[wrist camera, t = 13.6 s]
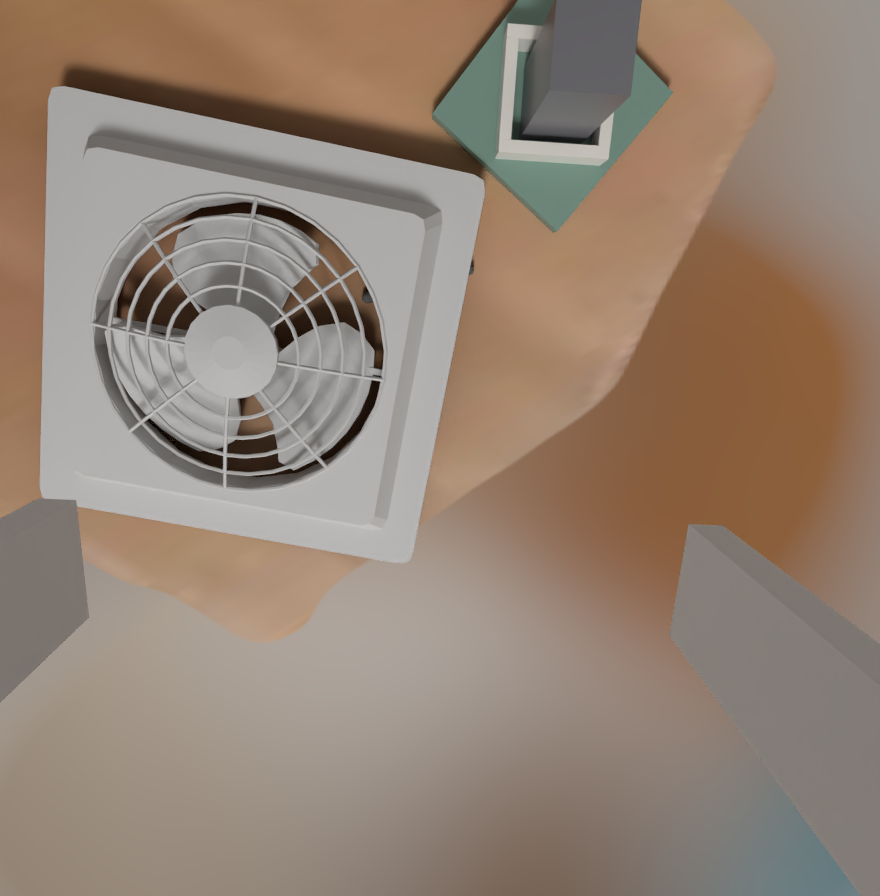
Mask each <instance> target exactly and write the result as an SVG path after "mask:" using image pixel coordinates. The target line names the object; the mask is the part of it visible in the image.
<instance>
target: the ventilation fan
mask: <svg viewBox="0 0 880 896" xmlns="http://www.w3.org/2000/svg"><path fill="white" fill-rule="evenodd" d="M484 195H485V189H484V180H482V179H481V178H479V177H477V176H476V175H474V174H470V173H466V172H461V171H456V170H452V169H447V168H442V167H438V166H433V165H429V164H424V163H419V162H415V161H410V160H405V159H401V158H396V157H391V156H387V155H382V154H377V153H373V152H368V151H364V150H359V149H354V148H350V147H345V146H340V145H336V144H331V143H326V142H322V141H317V140H312V139H308V138H303V137H299V136H294V135H289V134H285V133H280V132H275V131H271V130H266V129H261V128H257V127H252V126H247V125H243V124H238V123H233V122H229V121H224V120H220V119H215V118H210V117H206V116H201V115H196V114H192V113H187V112H182V111H178V110H173V109H168V108H164V107H159V106H155V105H150V104H145V103H141V102H136V101H131V100H127V99H122V98H117V97H113V96H108V95H103V94H99V93H94V92H90V91H85V90H80V89H76V88H71V87H66V86H61V87H54V88H52V90H51V93H50V96H49V99H48V132H47V178H46V224H45V270H44V316H43V362H42V408H41V453H40V490H41V493H42V496H43V498H45V499H64V500H76V503H77V506H78V507H84V508H89V509H95V510H100V511H106V512H112V513H117V514H123V515H129V516H134V517H140V518H145V519H151V520H157V521H162V522H168V523H174V524H179V525H185V526H190V527H196V528H202V529H207V530H213V531H218V532H224V533H230V534H235V535H241V536H247V537H252V538H258V539H263V540H269V541H275V542H280V543H286V544H292V545H297V546H303V547H308V548H314V549H320V550H325V551H331V552H337V553H342V554H348V555H353V556H359V557H365V558H370V559H376V560H382V561H387V562H393V563H406V562H408V561H409V559H410V558H411V556H412V553H413V549H414V544H415V539H416V534H417V529H418V524H419V519H420V514H421V509H422V504H423V499H424V494H425V489H426V484H427V479H428V474H429V469H430V464H431V460H432V455H433V450H434V445H435V440H436V435H437V430H438V425H439V420H440V415H441V410H442V405H443V400H444V395H445V390H446V385H447V380H448V375H449V370H450V365H451V360H452V355H453V350H454V345H455V340H456V335H457V330H458V325H459V320H460V315H461V310H462V305H463V300H464V295H465V290H466V285H467V280H468V275H469V270H470V265H471V260H472V255H473V250H474V245H475V240H476V235H477V230H478V225H479V220H480V215H481V210H482V205H483V200H484ZM242 202H248V203H253V205H252V210H251V214H243V213H233V214H223V215H214V216H205V217H198V218H195V219H192V220H189V221H186V222H183V223H180V224H177V225H174V226H172V227H171V228H169V229H167V230H166V231H164V232H162V233H161V234H159V235H158V236H156V234H157V233H158V232H159V231H160V230H161V229H162V228H163V227H165V226H167V225H169V224H171V223H173V222H175V221H177V220H179V219H180V218H182V217H184V216H186V215H188V214H190V213H192V212H194V211H196V210H198V209H200V208H203V207H211V206H219V205H226V204H234V203H242ZM257 205H262V206H267V207H272V208H277V209H281V210H286V211H290V212H292V213H294V214H296V215H297V216H299V217H301V218H303V219H304V220H306V221H308V222H310V223H311V224H313V225H315V226H316V227H317V228H318V229H319V230H321V231H322V232H323V233H324V234H325V235H327V236H328V237H329V238H330V239H331V240H333V241H334V242H335V244H336V245H337V246H338V247H339V248H340V249H341V250H342V251H343V252H344V253H345V255H346V256H347V257H348V258H349V259H350V261H351V262H352V263H353V264H354V267H353V268H351V269H350V270H348V271H347V272H345V273H344V274H342V275H341V276H340V275H339V273H338V272H337V271H336V270H335V269H334V267H333V266H332V265H331V264H330V263H329V261H328V260H327V259H326V258H325V257H324V256H323V255H322V254H321V253H320V252H319V244H318V243H317V242H315V241H314V240H313V239H311V238H310V237H309V236H307V235H306V234H305V233H304V232H302V231H301V230H299V229H297V228H295V227H293V226H291V225H289V224H287V223H285V222H283V221H281V220H278V219H275V218H271V217H267V216H264V215H260V214H255V213H256V209H257ZM192 224H194V225H192ZM189 225H192V226H190V227H189V228H187V229H186V230H184V231H182V232H181V233H179V234H178V236H177V240H176V244H175V247H174V251H173V252H172V253H170V254H169V255H167V256H165V254H164V253H163V251H162V250H161V248H160V246H159V245H158V243H157V241H159V240H160V239H162V238H164V237H165V236H167V235H169V234H170V233H172V232H173V231H175V230H177V229H180V228H183V227H186V226H189ZM155 236H156V237H155ZM152 245H154V247H155V248H156V250H157V251H158V253H159V255H160V256H161V258H162V260H161V261H160V262H158V263H157V264H156V265H155V266H154V267H153V268H152V269H151V270H150V271H149V272H148V273H147V275H146V276H145V278H144V279H143V281H142V283H141V284H140V286H139V287H138V289H137V290H136V293H135V295H134V298H133V300H132V303H131V306H130V308H129V312H128V318H127V319H122V318H117V301H118V297H119V295H120V292H121V290H122V287H123V285H124V283H125V280H126V278H127V275H128V274H129V272H130V271H131V269H132V267H133V266H134V264H135V263H136V261H137V260H138V259H139V258H140V257H141V256H142V255H143V254H144V253H145V252H146V251H147V250H148V249H149V248H150V247H151V246H152ZM171 258H172V263H173V267H172V265H171V264H170V262H169V261H168V260H170V259H171ZM319 258H320V259H322V261H323V262H324V263H325V264H326V265H327V267H328V268H329V269H330V270H331V271H332V273H333V274H334V275H335V276H336V277H337V279H335V280H334V281H332V282H331V283H329V284H328V285H326V286H325V287H323V288H322V287H321V286H320V285H319V284H318V282H317V281H316V280H315V279H314V278H313V276H312V275H311V274H310V273H309V272H310V271H311V270H312V269H314V268H315V267H316V266H317V265H319ZM164 263H165V264H166V265H167V267H168V268H169V270H170V272H171V273H172V275H173V278H174V279H173V280H172V281H171V282H170V283H169V284H168V285H167V286H165V287H164V288H163V290H162V291H161V293H160V294H159V296H158V297H157V299H156V300H155V302H154V304H153V306H152V309H151V311H150V314H149V316H148V319H147V323H144V322H139V321H133V320H132V316H133V311H134V309H135V306H136V303H137V301H138V298H139V296H140V293H141V291H142V290H143V288H144V287H145V285H146V284H147V282H148V281H149V279H150V278H151V276H152V275H153V274H154V273H155V272H156V271H157V270H158V269H159V268H160V267H161V266H162V265H163V264H164ZM356 270H358V272H359V273H360V275H361V277H362V279H363V281H364V283H365V285H366V287H367V289H368V291H369V293H370V295H371V297H372V299H373V302H374V305H375V308H376V311H377V314H378V317H379V321H380V328H381V335H382V342H383V349H384V357H383V369H378V368H374V352H375V350H374V349H373V348H372V347H371V345H370V344H369V343H368V341H367V340H366V339H365V333H364V326H363V323H362V320H361V317H360V314H359V311H358V308H357V305H356V302H355V300H354V298H353V296H352V295H351V293H350V291H349V289H348V288H347V286H346V284H345V282H344V280H343V279H344V278H346V277H347V276H349V275H350V274H352V273H353V272H355V271H356ZM305 276H307V277H308V278H309V279H310V281H311V282H312V283H313V284H314V285H315V286H316V288H317V289H318V290H319V291H317V292H316V293H314V294H313V295H311V296H310V297H309V298H307V299H306V300H303V299H302V298H301V297H300V295H299V294H298V293H297V292H296V291H295V290H294V287H295V286H296V285H297V284H298V283H299V282H300V281H301V280H302V279H303V278H304V277H305ZM338 282H340V283H341V285H342V287H343V289H344V291H345V292H346V294H347V296H348V298H349V299H350V301H351V303H352V306H353V309H354V312H355V315H356V318H357V321H358V324H359V327H360V332H359V331H357V330H355V329H354V328H352V327H351V326H349V325H348V324H346V323H345V322H343V323H339V320H338V317H337V314H336V311H335V309H334V307H333V305H332V303H331V302H330V300H329V298H328V296H327V295H326V293H325V291H326V290H328V289H329V288H331V287H332V286H334V285H335V284H337V283H338ZM176 283H178V284H179V285H180V287H181V288H182V289H183V291H184V292H185V294H186V295H187V298H186V299H185V300H184V301H183V302H182V303H181V304H179V306H178V307H177V309H176V310H175V312H174V313H173V315H172V317H171V319H170V322H169V324H168V327H166V326H161V325H155V324H152V319H153V317H154V314H155V312H156V309H157V307H158V304H159V303H160V301H161V300H162V298H163V297H164V296H165V294H166V293H167V291H168V290H169V289H170V288H171V287H172V286H173V285H175V284H176ZM290 292H291V293H292V294H293V295H294V296H295V297H296V298H297V299H298V301H299V302H300V304H298V305H297V306H295V307H294V308H293V309H291V310H290V311H288V312H287V313H285V312H284V311H283V310H282V309H283V306H284V304H285V302H286V300H287V298H288V296H289V294H290ZM321 294H322V296H323V298H324V299H325V301H326V303H327V305H328V306H329V308H330V310H331V312H332V315H333V318H334V321H335V324H329V325H322V326H317V323H316V321H315V318H314V316H313V315H312V313H311V311H310V309H309V308H308V306H307V303H309V302H310V301H312V300H313V299H315V298H316V297H318V296H319V295H321ZM190 301H191V303H192V304H193V305H194V307H195V308H196V310H197V311H198V312H199V316H198V317H197V318H196V319H195V320H194V321H193V322H192V323H191V325H190V327H189V329H188V330H183V329H177V328H172V327H173V324H174V322H175V319H176V317H177V316H178V314H179V313H180V311H181V310H182V308H183V307H184V306H185V305H186V304H187V303H188V302H190ZM197 303H198V304H199V305H201V306H202V307H204V308H205V309H207V310H206V311H204V312H203V311H202V309H201V308H200V306H199V305H198V304H197ZM302 307H304V309H305V311H306V312H307V314H308V316H309V318H310V319H311V322H312V325H313V327H314V329H312V330H311V331H309V332H307V333H305V334H304V335H302V336H300V337H298V336H297V333H296V331H295V328H294V326H293V324H292V322H291V321H290V319H289V316H290V315H291V314H293V313H294V312H296V311H297V310H299V309H300V308H302ZM280 314H281V315H282V316H281V317H280V318H279V315H280ZM284 319H285V321H286V322H287V324H288V326H289V327H290V329H291V332H292V335H293V337H294V341H293V342H292V343H291V344H289V345H288V346H287V347H286V348H285V349H283V348H279V345H278V340H277V338H276V336H275V334H274V331H275V328H276V325H277V324H279V323H280V322H281V321H283V320H284ZM152 331H155V332H161V333H166V335H162V334H159V333H155V332H152ZM171 334H172V335H171ZM373 375H378V376H381V377H374V376H373ZM372 380H374V381H380V386H379V392H378V396H377V399H376V403H375V405H374V407H373V409H372V411H371V413H370V415H369V416H368V418H367V420H366V422H365V424H364V426H363V428H362V430H361V431H360V432H359V433H358V434H357V435H355V436H354V437H353V438H352V439H351V440H350V441H349V442H348V443H347V444H346V445H345V446H344V447H343V448H342V449H340V450H339V451H338V452H337V453H336V454H335V455H334V456H333V457H331V458H329V459H326V460H324V461H323V460H322V459H321V458H320V456H321V455H323V454H324V453H325V452H327V451H328V450H330V449H331V448H332V447H333V446H334V445H335V444H336V443H337V442H338V441H339V440H340V439H341V438H342V437H343V436H344V435H345V434H346V433H347V432H348V431H349V429H350V428H351V426H352V425H353V423H354V422H355V420H356V419H357V417H358V416H359V414H360V413H361V410H362V408H363V406H364V403H365V401H366V399H367V396H368V394H369V390H370V386H371V381H372ZM251 395H254V396H255V397H256V399H257V400H258V401H259V402H260V404H261V405H262V407H263V408H264V410H265V411H263V412H260V413H257V414H254V415H248V416H242V414H241V407H240V400H239V398H245V397H249V396H251ZM142 411H143V412H144V413H145V414H146V416H145V415H144V413H143V412H142ZM266 414H267V415H268V416H269V418H270V420H271V421H272V423H273V426H274V430H271V431H268V432H264V433H261V434H257V435H247V436H237V434H238V430H239V427H240V423H241V420H248V419H254V418H257V417H261V416H264V415H266ZM149 418H150V419H151V420H152V421H153V422H154V423H155V424H156V425H158V426H159V427H160V428H161V429H162V430H164V431H165V432H166V433H168V434H169V435H171V436H172V437H174V438H175V439H176V440H178V441H179V442H181V443H183V444H185V445H187V446H189V447H191V448H193V449H195V450H197V451H207V452H210V453H214V454H217V455H221V456H223V469H220V468H217V467H213V466H209V465H207V464H205V463H203V462H201V461H199V460H197V459H195V458H193V457H191V456H189V455H187V454H185V453H183V452H181V451H179V450H178V449H177V448H176V447H175V446H174V445H173V444H172V443H171V442H170V441H169V440H168V439H167V438H165V437H164V436H163V435H162V434H161V433H160V432H159V431H158V430H157V429H156V428H155V427H154V426H152V425H151V424H150V423H149V422H148V419H149ZM271 434H275V437H276V443H277V449H276V450H272V451H269V452H266V453H257V454H246V455H245V454H234V453H227V446H228V444H229V443H231V442H233V441H235V440H236V439H238V440H247V439H257V438H262V437H265V436H268V435H271ZM221 447H223V452H221V451H218V450H214V449H220V448H221ZM276 453H278V461H279V462H280V463H282V464H284V465H285V466H283V467H280V468H276V469H273V470H265V471H255V472H242V471H231V470H227V457H235V458H256V457H266V456H269V455H272V454H276ZM316 459H317V460H318V461H319V463H318V464H315V465H313V466H311V467H309V468H307V469H305V470H302V471H300V472H298V473H291V474H283V475H274V476H266V477H253V475H264V474H273V473H276V472H280V471H283V470H286V469H290V468H291V469H292V470H296V469H298V468H300V467H302V466H304V465H306V464H308V463H310V462H312V461H314V460H316Z"/></svg>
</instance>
